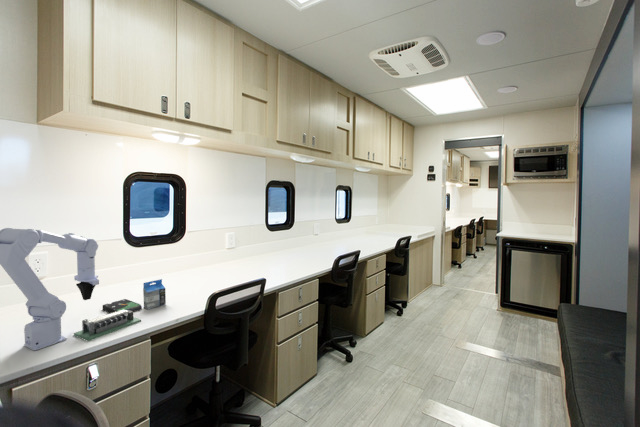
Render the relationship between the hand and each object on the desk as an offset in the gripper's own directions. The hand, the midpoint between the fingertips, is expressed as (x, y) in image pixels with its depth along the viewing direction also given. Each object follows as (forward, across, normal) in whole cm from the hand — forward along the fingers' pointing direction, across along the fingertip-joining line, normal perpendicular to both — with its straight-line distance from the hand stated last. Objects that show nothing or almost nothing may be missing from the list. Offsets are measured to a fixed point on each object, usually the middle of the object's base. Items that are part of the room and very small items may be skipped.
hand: (86, 299), depth 124 cm
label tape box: (+11, -6, -26) cm, 29 cm away
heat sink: (+10, -12, 0) cm, 15 cm away
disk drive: (+11, +3, -16) cm, 20 cm away
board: (+10, -12, -2) cm, 16 cm away
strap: (+7, -12, -1) cm, 14 cm away
